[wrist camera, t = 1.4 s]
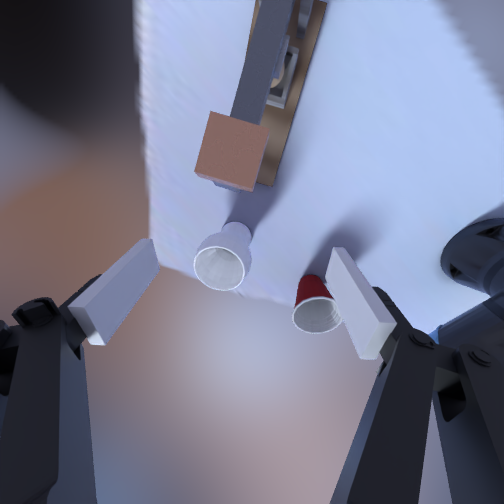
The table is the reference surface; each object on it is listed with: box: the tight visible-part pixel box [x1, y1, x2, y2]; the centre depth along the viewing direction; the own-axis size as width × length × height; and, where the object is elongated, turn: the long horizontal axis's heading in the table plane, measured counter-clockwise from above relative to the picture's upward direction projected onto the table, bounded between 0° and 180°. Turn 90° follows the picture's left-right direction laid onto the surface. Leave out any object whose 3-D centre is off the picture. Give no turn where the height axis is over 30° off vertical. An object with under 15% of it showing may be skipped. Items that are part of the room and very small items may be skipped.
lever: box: [194, 0, 295, 193], centre depth 22 cm, size 23×6×5 cm, turn 165°
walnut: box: [271, 62, 285, 88], centre depth 28 cm, size 4×4×4 cm
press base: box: [245, 0, 327, 187], centre depth 30 cm, size 26×10×15 cm, turn 166°
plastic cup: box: [292, 275, 343, 334], centre depth 48 cm, size 11×11×12 cm
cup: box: [194, 222, 252, 291], centre depth 43 cm, size 11×11×15 cm
